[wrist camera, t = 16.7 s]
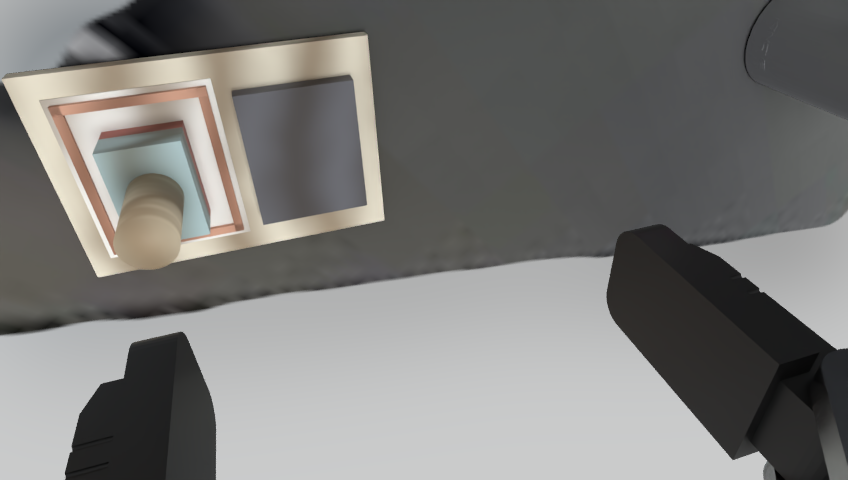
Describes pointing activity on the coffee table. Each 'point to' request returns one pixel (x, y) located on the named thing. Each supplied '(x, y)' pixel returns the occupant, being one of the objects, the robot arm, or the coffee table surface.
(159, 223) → the rubber stamp
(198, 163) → the stamping board
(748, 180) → the coffee table surface
